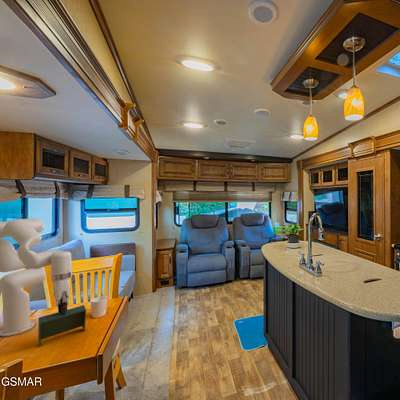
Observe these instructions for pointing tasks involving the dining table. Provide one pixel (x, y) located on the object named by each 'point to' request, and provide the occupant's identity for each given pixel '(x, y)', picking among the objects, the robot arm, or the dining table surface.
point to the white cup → (98, 306)
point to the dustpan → (61, 322)
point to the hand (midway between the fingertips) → (62, 310)
